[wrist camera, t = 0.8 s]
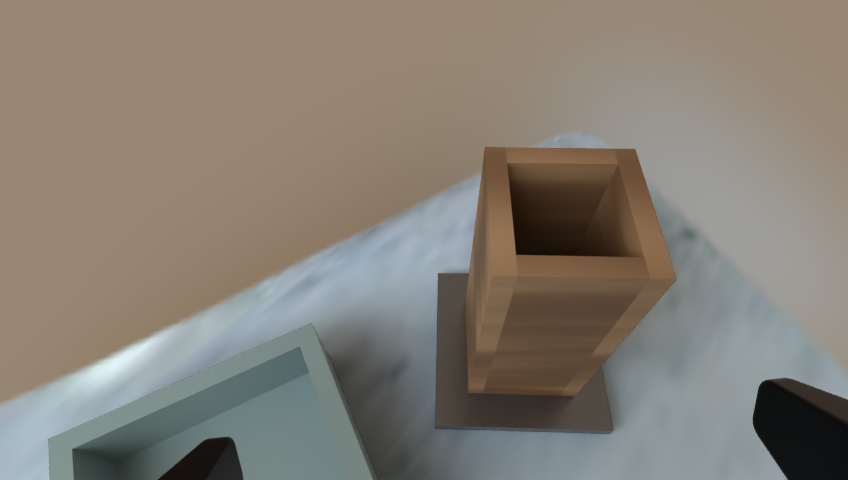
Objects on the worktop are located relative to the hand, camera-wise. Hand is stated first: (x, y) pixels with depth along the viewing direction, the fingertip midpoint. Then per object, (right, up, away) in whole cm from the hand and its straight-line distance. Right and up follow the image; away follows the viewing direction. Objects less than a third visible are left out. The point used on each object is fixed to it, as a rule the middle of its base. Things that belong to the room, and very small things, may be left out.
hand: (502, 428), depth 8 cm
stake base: (+3, -2, +16) cm, 16 cm away
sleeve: (+3, -2, +15) cm, 16 cm away
